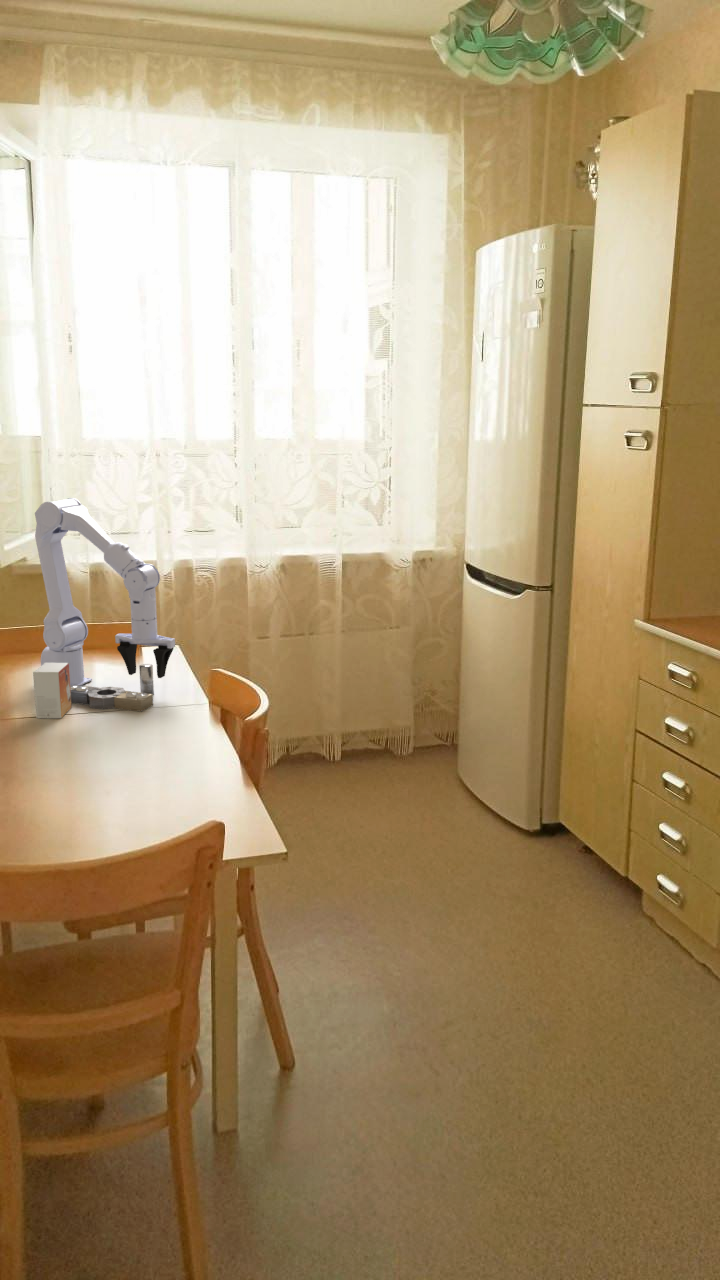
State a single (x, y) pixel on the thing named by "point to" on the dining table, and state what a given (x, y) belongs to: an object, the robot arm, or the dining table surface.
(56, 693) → the small box
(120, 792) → the dining table surface
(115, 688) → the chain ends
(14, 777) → the dining table surface
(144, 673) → the pin
